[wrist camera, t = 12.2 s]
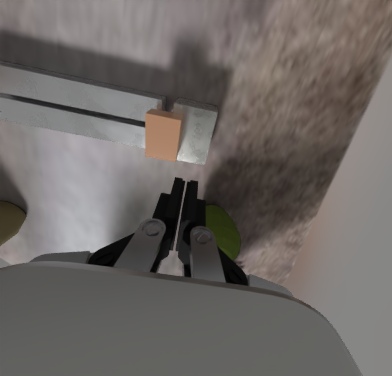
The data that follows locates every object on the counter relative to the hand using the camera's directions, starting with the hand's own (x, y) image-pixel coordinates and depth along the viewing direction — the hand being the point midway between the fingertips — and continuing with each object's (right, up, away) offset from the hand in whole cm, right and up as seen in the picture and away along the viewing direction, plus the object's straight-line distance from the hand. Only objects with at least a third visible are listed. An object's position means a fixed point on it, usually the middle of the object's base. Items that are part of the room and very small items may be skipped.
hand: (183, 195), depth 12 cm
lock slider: (-3, +7, +8) cm, 11 cm away
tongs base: (-10, +11, +10) cm, 18 cm away
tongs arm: (-14, +10, +11) cm, 20 cm away
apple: (+4, -4, +21) cm, 21 cm away
